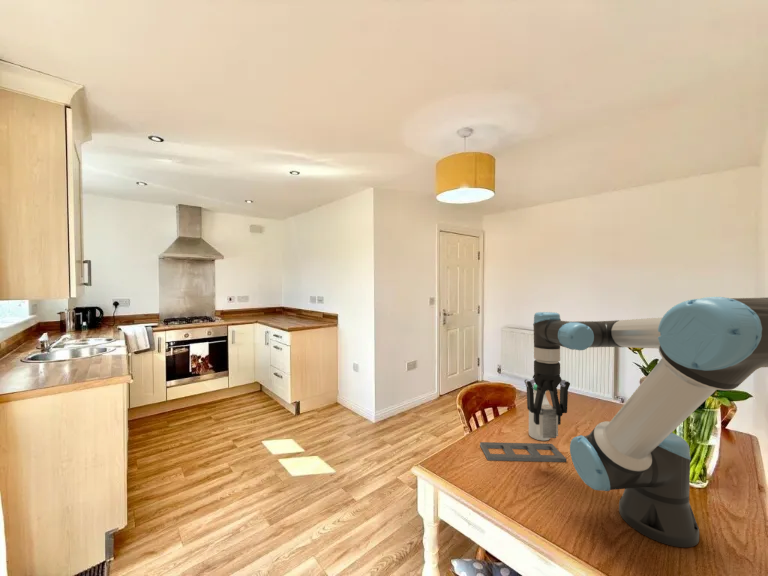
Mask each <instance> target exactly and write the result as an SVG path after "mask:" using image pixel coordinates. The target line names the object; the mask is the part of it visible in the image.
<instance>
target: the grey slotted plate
mask: <svg viewBox="0 0 768 576" xmlns="http://www.w3.org/2000/svg"><path fill="white" fill-rule="evenodd" d="M479 446H480V448H481V450H482V452H483V455H484V456H485V457H486V459H487V461H496V462H497V461H499V462H500V461H502V462H505V461H506V462H538V463H539V462H541V463H542V462H543V463H545V462H546V463H547V462H549V463H567V458H566V456H565V455H563V454H562V452H561V451H560V450H559V449H558V448H557V447H556V446H555V445H554V443H539V442H538V443H536V442H534V443H533V442H532V443H530V442H495V441H494V442H493V441H492V442H491V441H489V442H487V441H481V442H479ZM489 449H498V450H499V449H500V450H501V449H502V451H503V452H504V453H491V452H490V451H489ZM514 450H526V451H527V452H528V454H520V453H519V454H517V453H516V452H515V451H514ZM538 450H542V451H543V450H545V451H546V450H548V451H551V452H552V453H553V454H541V453H540V452H539V451H538Z"/></svg>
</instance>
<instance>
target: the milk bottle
mask: <svg viewBox="0 0 768 576" xmlns="http://www.w3.org/2000/svg"><path fill="white" fill-rule="evenodd" d="M533 390H534V403H535V398H536V393H537V385H536V383H534V386H533ZM546 393H547V391H545V394H544V397H543V402H542V405H551V404H550V402H549V400H548V397H547V394H546ZM528 435H529V436H530V437H531V438H532V439H535V440H538V441H543V442H545V441H549V440H550V439H551V438H543V437H542V436H540V435H539V434H538V433H537V429H536V424H535V423H534V413H531V412H530V411H529V410H528Z"/></svg>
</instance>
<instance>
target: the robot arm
mask: <svg viewBox="0 0 768 576" xmlns="http://www.w3.org/2000/svg"><path fill="white" fill-rule="evenodd" d="M532 325H533V358H534V361H533V375H532V378H531V379H524V384H525V386H526V403H527V404H526V408H527V410H528V412H529V411H530V412H531V413H534V423H535V424H536V429H537V433H538V434H539V435H540V436H543V415H541V414H540V412H541V407H542V402H543V397H544V394H545V391H546V392H547V391H549V394H550V398H551V404H552V405H551V406H552V407H554V408H555V409H556V437H559V426H560V425H561V421H562V419H561V417H562V416H563V415H564V414H567V413H568V397H569V388H570V386H571V383H570V382H569V381H567V380H566V379H563V378H561V363H560V361H561V347H563V348H566V349H568V350H572V351H573V350H575V351H585V350H587V349H588V348H630V349H631V348H632V349H633V348H637V349H656V350H657V349H658V352H659V355H660V357H661V359H660V360H659V361H658V363H657V364H656V365H655V366H654V368H653V369H652V370H651V371H650V372H649V373H648V375H647V376H646V377H645V378H644V380H643V381H642V382H641V383H640V384H639V385H638V387H637V388H636V389H635V390H634V392H633V393H632V394H631V396H629V398H628V399H627V400H626V402H625V403H624V404H623V405H622V406H621V408H620V409H619V410H618V412H616V414H615V415H614V417H613V418H612V419H611V420H610V421H608V420H607V421H606V420H605V421H602V422H599V423H597V424H596V426H595V427H594V428H593V429H592V430H591V431H590V433H589V434H587V435H577V436H574V437H572V439H571V441H570V444H569V453H570V456H571V457H570V458H571V460H572V463H573V466H574V469H575V471H576V473H577V474H578V476H579V478H581V481H583V483H584V484H585V485H587V486H588V487H589V488H591V489H592V490H594V491H605V492H610V491H613V490H624V491H623V494H622V496H621V497H620V498H619V503H618V512H619V514H620V516H621V518H622V520H624V521H625V523H626V524H627V525H629V526H630V528H633V530H635V531H637V532H638V533H640V534H642V535H643V536H645V537H647V538H649V539H651V540H654V541H656V542H658V543H661V544H664V545H668V546H672V547H677V548H693V547H695V546H697V545H698V544H699V542H700V529H699V528H700V527H699V525H698V523H697V520H696V517H695V515H694V512H693V510H692V506H691V503H690V486H691V485H690V482H691V480H690V479H691V459H692V457H691V454H690V453H691V451H690V445H689V444H688V443H689V442H687V441H686V440H685V439H684V438H683V437H681V436H680V435H677V434H676V433H673V432H674V431H675V430H676V429H677V428H678V427H679V426H680V425H682V423H683V422H684V421H685V420H686V419H687V418H689V417H690V416H691V415H692V414H693V413H694V412H695V411H696V410H697V409H699V407H701V405H703V404H704V402H705V401H707V400H708V399H709V397H711V396H712V395H713V394H714V393H715V392H716V391H717V390H718V391H732V390H735V389H737V388H738V387H739V386H741V384H742V383H744V382H745V380H747V379H748V378H749V377H750V376H752V374H753V373H754V372H755V371H757V370H758V369H760V368H761V369H762V368H768V297H740V298H739V297H738V298H737V297H734V298H729V297H724V296H706V297H701V298H693V299H688V300H685V301H682V302H680V303H678V304H676V305H674V306H672V307H671V308H670V309H668V311H666V313H665V314H664V315H663V316H662V317H652V318H636V319H635V318H634V319H620V320H619V319H618V320H617V319H615V320H601V321H600V320H599V321H598V320H597V321H595V320H594V321H593V320H591V321H587V320H586V321H582V320H580V321H579V320H578V321H575V320H574V321H570V320H569V321H567V320H561V315H560V313H558V312H552V311H538V312H535V313H534V315H533V324H532ZM534 384H536V385H537V393H536V398H535V403H534V390H533V386H534ZM559 385H560V387H559ZM558 387H559V391H558ZM558 392H559V393H558ZM558 394H559V395H558Z"/></svg>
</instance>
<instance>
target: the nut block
mask: <svg viewBox="0 0 768 576" xmlns="http://www.w3.org/2000/svg"><path fill="white" fill-rule="evenodd" d="M540 414H541V415H543V436H542V437H543V438H550V439H557V436H556V409H555V408H554V407H553V405H551V404H550V405H542V407H541V412H540Z"/></svg>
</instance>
